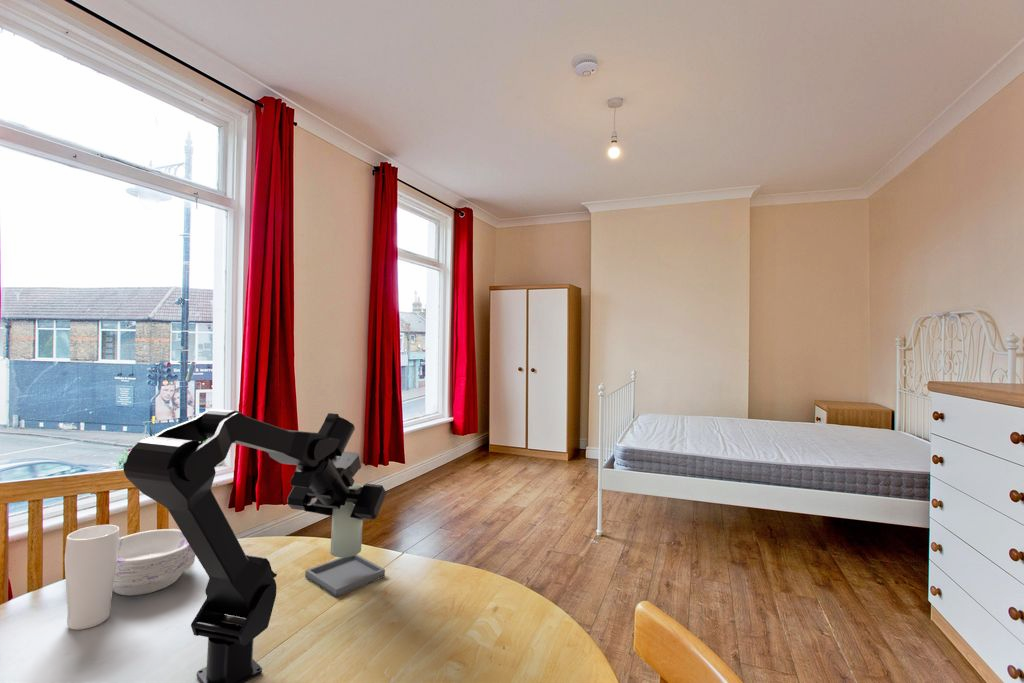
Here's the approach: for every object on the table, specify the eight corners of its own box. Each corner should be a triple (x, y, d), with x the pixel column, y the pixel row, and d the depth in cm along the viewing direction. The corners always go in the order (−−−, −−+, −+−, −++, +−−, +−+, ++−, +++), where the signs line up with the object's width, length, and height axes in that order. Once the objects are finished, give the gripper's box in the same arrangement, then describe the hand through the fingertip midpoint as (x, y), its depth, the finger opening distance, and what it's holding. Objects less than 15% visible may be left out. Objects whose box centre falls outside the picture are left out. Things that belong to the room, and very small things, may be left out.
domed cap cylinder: (363, 554, 96) (367, 490, 96) (332, 559, 93) (336, 493, 93) (358, 543, 101) (361, 482, 101) (328, 547, 98) (331, 484, 99)
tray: (384, 576, 98) (384, 569, 98) (335, 597, 89) (336, 589, 89) (353, 559, 105) (353, 552, 105) (305, 577, 96) (305, 570, 96)
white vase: (82, 637, 74) (88, 542, 75) (49, 630, 76) (54, 537, 76) (125, 614, 81) (130, 526, 81) (94, 607, 82) (99, 522, 83)
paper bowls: (210, 577, 94) (212, 538, 95) (119, 614, 81) (122, 568, 81) (169, 558, 102) (171, 521, 102) (79, 589, 88) (81, 546, 88)
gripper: (384, 445, 92) (405, 486, 102) (299, 437, 96) (328, 477, 106) (361, 498, 84) (387, 536, 95) (270, 487, 88) (304, 525, 98)
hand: (351, 516), depth 99 cm, fingers closed on domed cap cylinder, 6 cm apart
